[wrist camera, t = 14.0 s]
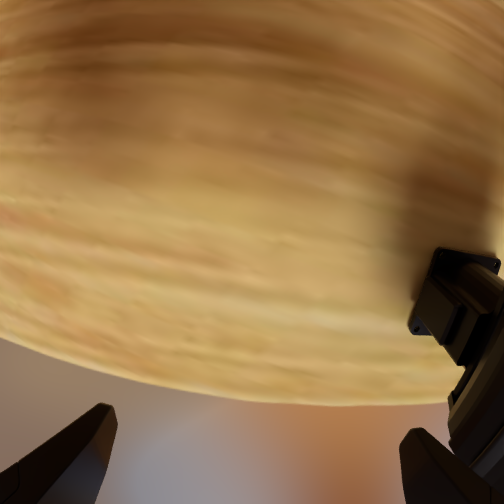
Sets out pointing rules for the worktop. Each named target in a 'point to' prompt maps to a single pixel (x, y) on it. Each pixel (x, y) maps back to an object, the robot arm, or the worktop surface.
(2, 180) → the worktop surface
